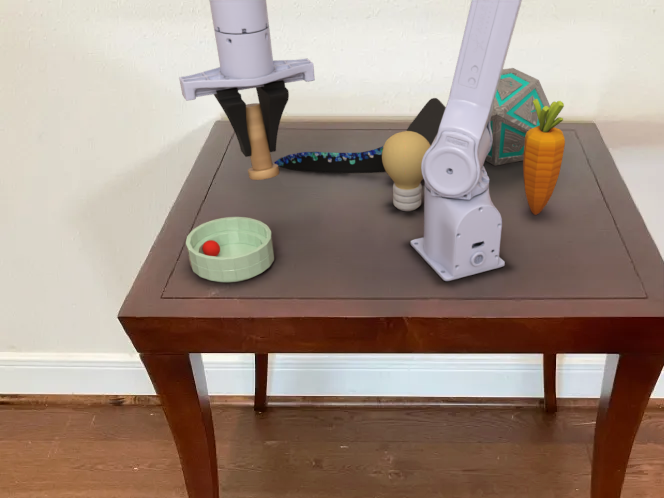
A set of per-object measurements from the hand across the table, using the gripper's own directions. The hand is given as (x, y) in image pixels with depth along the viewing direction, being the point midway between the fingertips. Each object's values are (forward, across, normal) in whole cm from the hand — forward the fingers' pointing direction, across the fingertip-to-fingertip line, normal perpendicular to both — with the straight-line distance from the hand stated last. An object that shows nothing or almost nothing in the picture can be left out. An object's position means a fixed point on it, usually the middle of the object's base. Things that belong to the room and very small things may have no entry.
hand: (258, 151), depth 85 cm
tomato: (+9, +8, +4) cm, 13 cm away
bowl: (+10, +6, +6) cm, 13 cm away
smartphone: (+7, -28, -4) cm, 29 cm away
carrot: (+11, -32, +11) cm, 36 cm away
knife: (+11, -18, -8) cm, 23 cm away
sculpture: (+10, -46, -18) cm, 51 cm away
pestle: (+3, 0, +1) cm, 3 cm away
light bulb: (+11, -18, +2) cm, 21 cm away
